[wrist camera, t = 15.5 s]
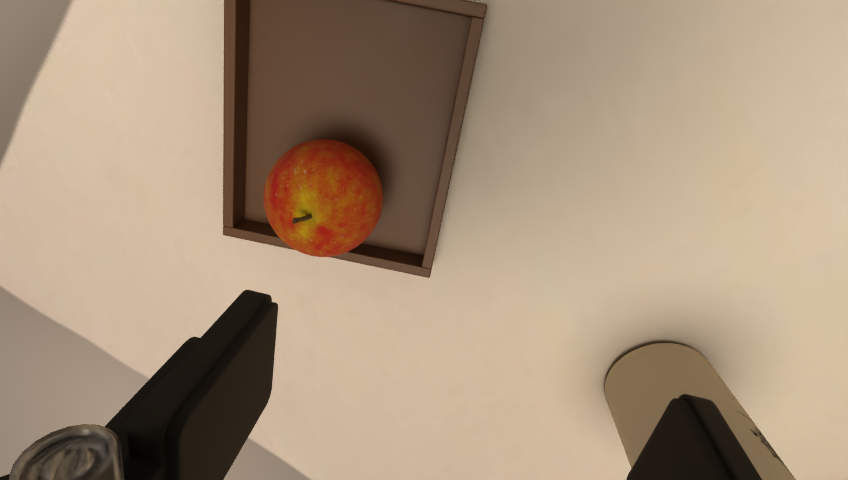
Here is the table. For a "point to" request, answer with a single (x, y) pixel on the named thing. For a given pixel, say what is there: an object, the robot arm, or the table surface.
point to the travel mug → (670, 378)
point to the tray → (350, 107)
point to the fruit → (323, 197)
